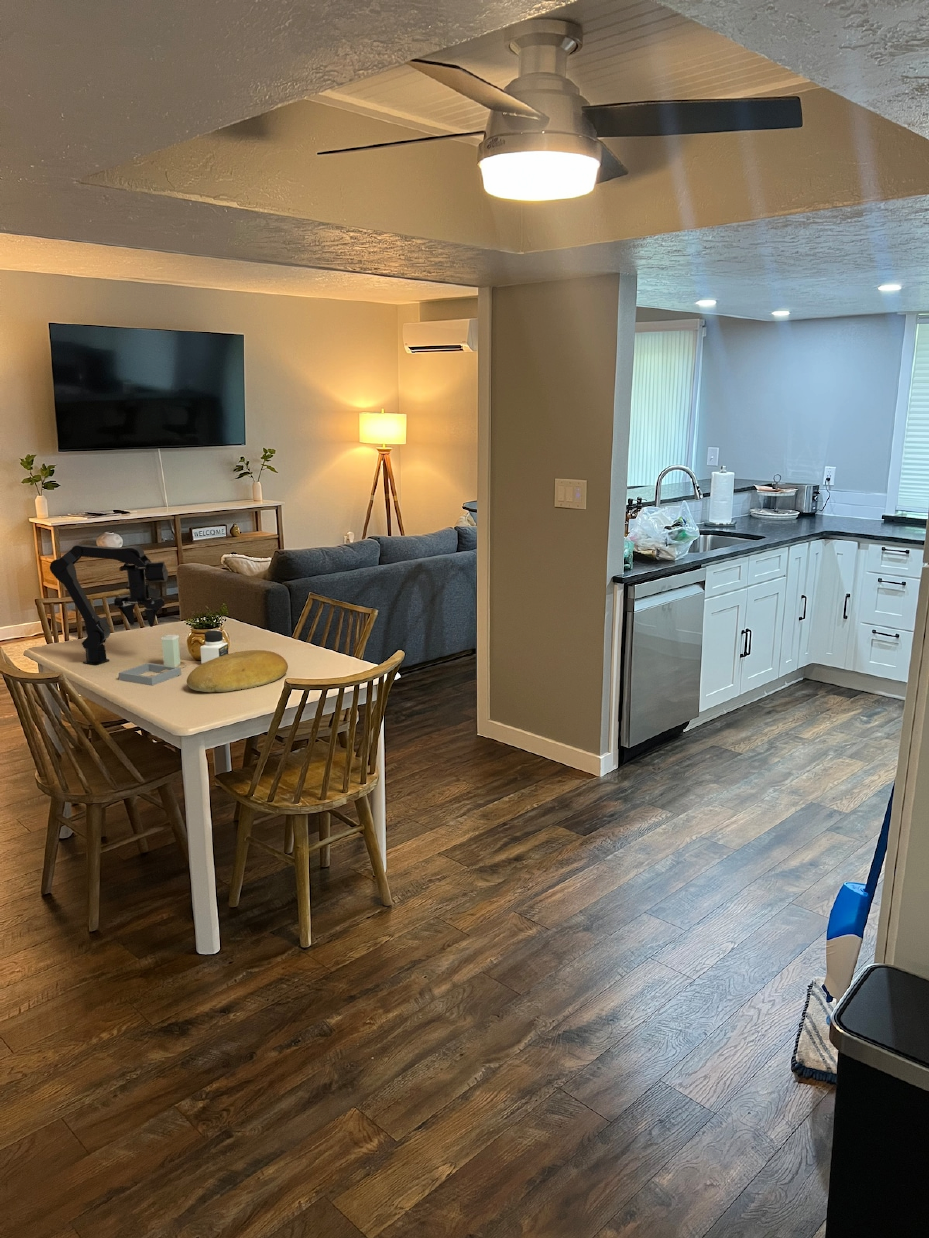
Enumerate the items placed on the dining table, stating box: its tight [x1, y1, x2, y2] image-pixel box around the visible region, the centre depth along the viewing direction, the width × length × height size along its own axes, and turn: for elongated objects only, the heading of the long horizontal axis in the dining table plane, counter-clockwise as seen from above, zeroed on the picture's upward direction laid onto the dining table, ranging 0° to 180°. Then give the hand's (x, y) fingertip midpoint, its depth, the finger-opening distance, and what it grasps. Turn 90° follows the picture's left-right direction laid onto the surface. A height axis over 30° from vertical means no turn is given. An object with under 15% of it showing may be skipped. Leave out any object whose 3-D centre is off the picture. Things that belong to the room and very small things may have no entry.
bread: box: [186, 649, 289, 693], centre depth 300 cm, size 18×35×10 cm, turn 137°
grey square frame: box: [118, 662, 182, 686], centre depth 306 cm, size 14×13×2 cm
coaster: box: [159, 661, 187, 669], centre depth 319 cm, size 10×10×1 cm
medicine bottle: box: [200, 629, 229, 665], centre depth 321 cm, size 7×7×12 cm
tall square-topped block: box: [160, 634, 181, 667], centre depth 318 cm, size 4×4×10 cm
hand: (142, 625), depth 322 cm, fingers open, 9 cm apart
